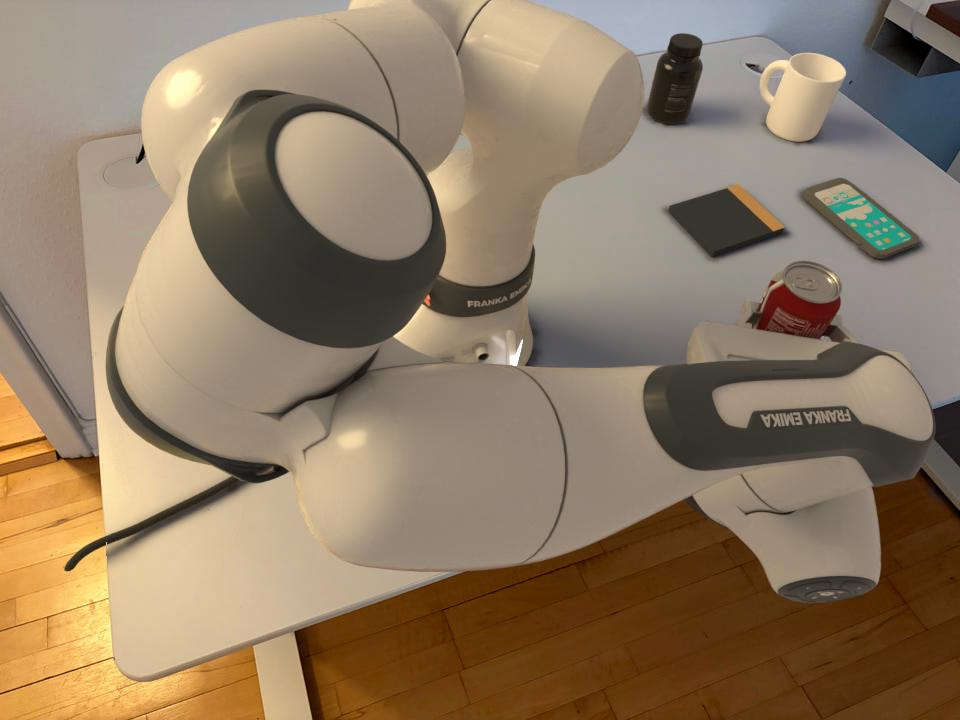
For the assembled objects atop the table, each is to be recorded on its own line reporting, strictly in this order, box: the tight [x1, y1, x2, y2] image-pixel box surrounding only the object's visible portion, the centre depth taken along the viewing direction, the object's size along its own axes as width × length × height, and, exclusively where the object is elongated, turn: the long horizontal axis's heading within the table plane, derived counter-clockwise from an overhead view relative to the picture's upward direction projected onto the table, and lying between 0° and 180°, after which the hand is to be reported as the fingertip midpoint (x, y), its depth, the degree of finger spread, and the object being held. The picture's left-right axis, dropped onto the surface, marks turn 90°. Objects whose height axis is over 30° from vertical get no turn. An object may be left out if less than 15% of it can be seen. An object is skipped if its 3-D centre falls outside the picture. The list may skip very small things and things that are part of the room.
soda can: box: [752, 260, 843, 340], centre depth 73 cm, size 7×7×12 cm
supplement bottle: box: [646, 32, 704, 125], centre depth 110 cm, size 7×7×12 cm
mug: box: [759, 52, 847, 143], centre depth 111 cm, size 12×8×10 cm
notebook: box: [667, 183, 785, 258], centre depth 98 cm, size 12×10×1 cm
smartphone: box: [802, 177, 920, 260], centre depth 100 cm, size 9×1×15 cm
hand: (789, 311), depth 73 cm, fingers closed on soda can, 6 cm apart
